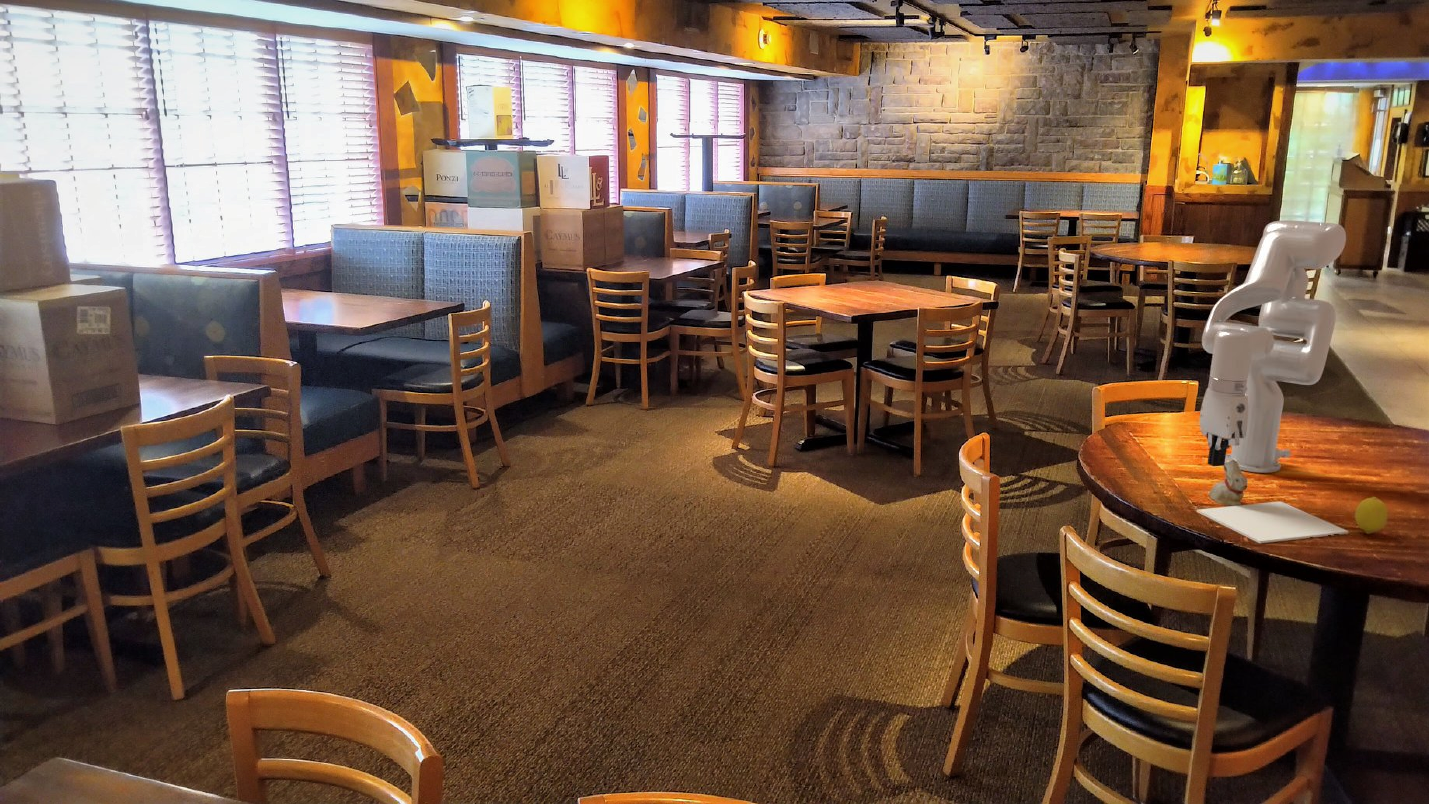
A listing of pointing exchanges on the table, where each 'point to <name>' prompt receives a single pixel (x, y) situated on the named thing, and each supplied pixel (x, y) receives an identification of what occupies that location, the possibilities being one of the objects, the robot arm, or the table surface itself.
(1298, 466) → the table surface
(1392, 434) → the table surface
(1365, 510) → the lemon
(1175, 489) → the table surface
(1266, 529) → the mat
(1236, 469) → the chocolate bunny
